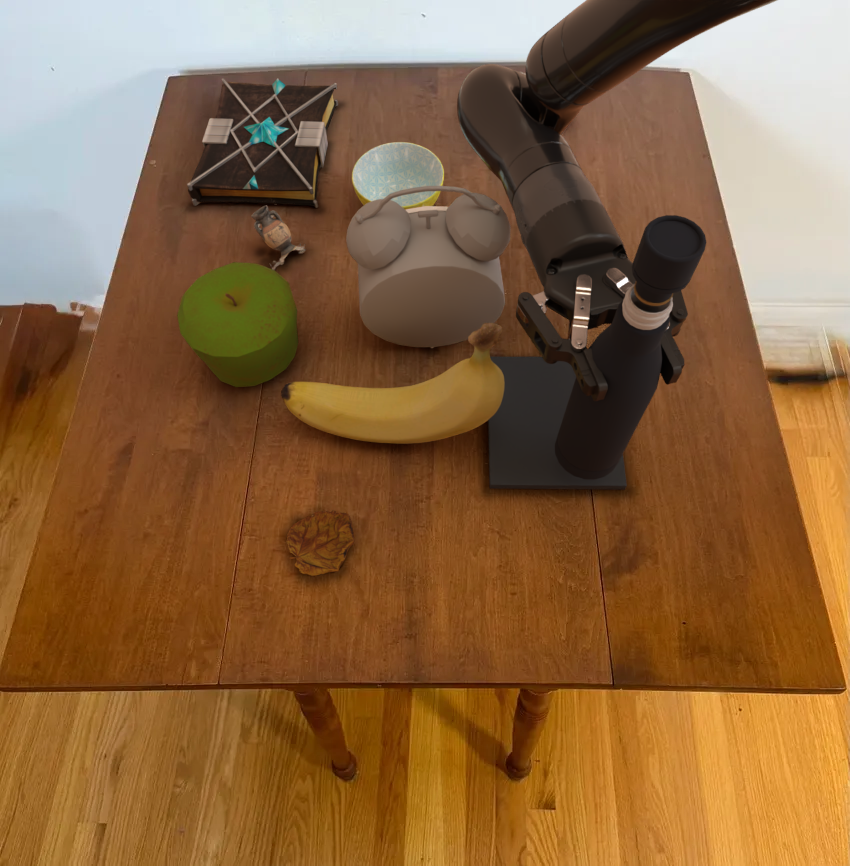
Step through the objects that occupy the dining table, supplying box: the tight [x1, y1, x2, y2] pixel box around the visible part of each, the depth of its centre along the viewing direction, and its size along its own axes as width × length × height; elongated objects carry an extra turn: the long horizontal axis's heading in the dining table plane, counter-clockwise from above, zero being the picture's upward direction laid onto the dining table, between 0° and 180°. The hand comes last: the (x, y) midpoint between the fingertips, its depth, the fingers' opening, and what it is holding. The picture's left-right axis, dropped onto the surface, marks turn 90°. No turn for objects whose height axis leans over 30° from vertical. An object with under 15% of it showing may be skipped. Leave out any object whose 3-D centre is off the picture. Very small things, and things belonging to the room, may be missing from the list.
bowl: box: [351, 141, 445, 210], centre depth 91 cm, size 11×12×6 cm
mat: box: [487, 356, 628, 491], centre depth 78 cm, size 14×16×1 cm
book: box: [186, 77, 339, 209], centre depth 98 cm, size 22×17×5 cm
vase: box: [251, 205, 307, 270], centre depth 88 cm, size 5×5×6 cm
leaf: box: [285, 509, 355, 577], centre depth 71 cm, size 6×7×2 cm
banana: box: [280, 322, 504, 445], centre depth 69 cm, size 23×6×20 cm, turn 84°
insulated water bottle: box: [555, 214, 707, 479], centre depth 58 cm, size 6×6×30 cm
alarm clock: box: [345, 185, 512, 349], centre depth 75 cm, size 16×9×22 cm, turn 94°
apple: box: [177, 261, 299, 388], centre depth 78 cm, size 12×12×11 cm
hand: (638, 386), depth 56 cm, fingers closed on insulated water bottle, 5 cm apart
